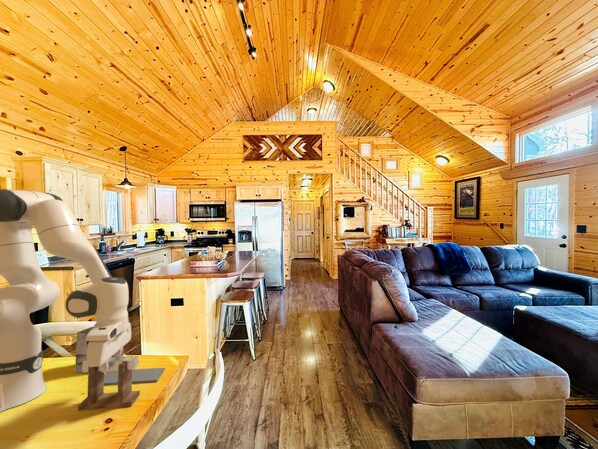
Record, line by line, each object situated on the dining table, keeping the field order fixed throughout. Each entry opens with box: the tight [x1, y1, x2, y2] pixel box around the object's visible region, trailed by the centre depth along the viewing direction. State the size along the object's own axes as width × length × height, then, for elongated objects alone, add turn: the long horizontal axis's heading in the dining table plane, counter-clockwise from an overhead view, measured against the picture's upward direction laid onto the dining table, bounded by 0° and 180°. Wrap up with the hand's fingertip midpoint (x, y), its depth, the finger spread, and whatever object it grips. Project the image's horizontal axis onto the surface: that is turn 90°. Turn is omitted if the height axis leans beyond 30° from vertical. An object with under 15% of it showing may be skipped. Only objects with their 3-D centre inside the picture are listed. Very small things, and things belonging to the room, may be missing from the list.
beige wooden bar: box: [82, 355, 140, 372], centre depth 89 cm, size 16×3×3 cm, turn 99°
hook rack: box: [77, 355, 141, 411], centre depth 89 cm, size 16×6×14 cm, turn 99°
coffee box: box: [74, 325, 94, 374], centre depth 110 cm, size 9×6×16 cm
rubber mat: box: [104, 367, 166, 386], centre depth 103 cm, size 22×9×1 cm, turn 99°
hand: (111, 366), depth 89 cm, fingers open, 5 cm apart
